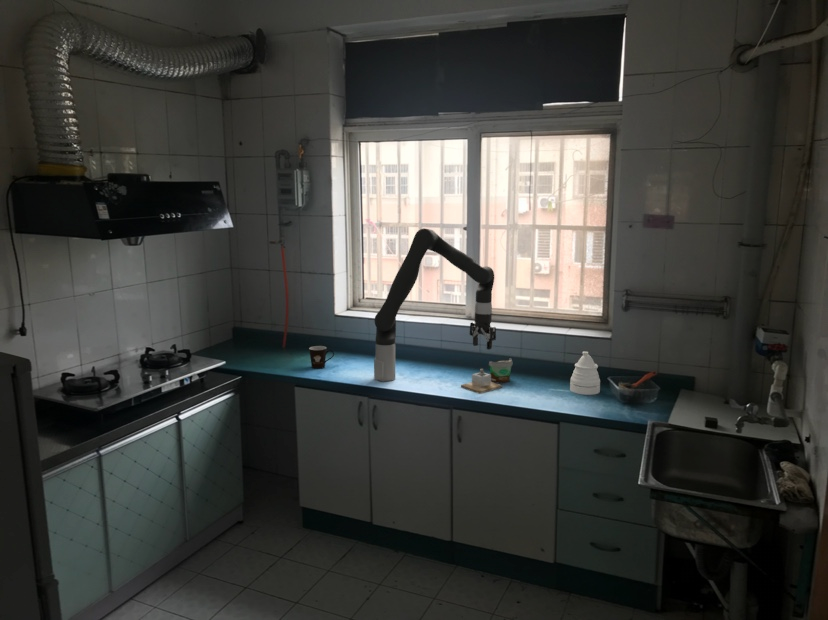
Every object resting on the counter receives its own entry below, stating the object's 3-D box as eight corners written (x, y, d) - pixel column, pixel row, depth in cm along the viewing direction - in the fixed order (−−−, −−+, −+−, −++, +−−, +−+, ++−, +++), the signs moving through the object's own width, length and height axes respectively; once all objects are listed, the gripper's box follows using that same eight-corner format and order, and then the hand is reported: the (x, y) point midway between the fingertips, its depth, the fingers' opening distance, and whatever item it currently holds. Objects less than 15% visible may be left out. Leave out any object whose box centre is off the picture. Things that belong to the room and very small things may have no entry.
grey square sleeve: (481, 387, 289) (481, 377, 288) (471, 384, 294) (472, 374, 293) (490, 385, 293) (491, 374, 292) (481, 382, 297) (481, 371, 296)
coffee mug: (306, 368, 324) (305, 349, 322) (315, 364, 331) (314, 345, 330) (326, 371, 319) (326, 351, 317) (335, 366, 327) (334, 347, 325)
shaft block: (479, 393, 284) (480, 374, 283) (461, 387, 294) (461, 368, 292) (501, 387, 293) (502, 369, 291) (483, 381, 302) (483, 363, 301)
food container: (495, 385, 296) (496, 364, 294) (488, 381, 302) (488, 361, 300) (517, 381, 302) (518, 360, 300) (509, 378, 307) (510, 357, 305)
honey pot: (594, 396, 280) (596, 356, 277) (566, 391, 287) (567, 352, 284) (603, 388, 291) (605, 350, 288) (575, 384, 298) (577, 346, 294)
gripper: (466, 310, 290) (465, 345, 293) (488, 315, 279) (487, 351, 282) (478, 308, 294) (477, 343, 297) (500, 313, 284) (499, 349, 286)
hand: (482, 347), depth 290 cm, fingers open, 8 cm apart
